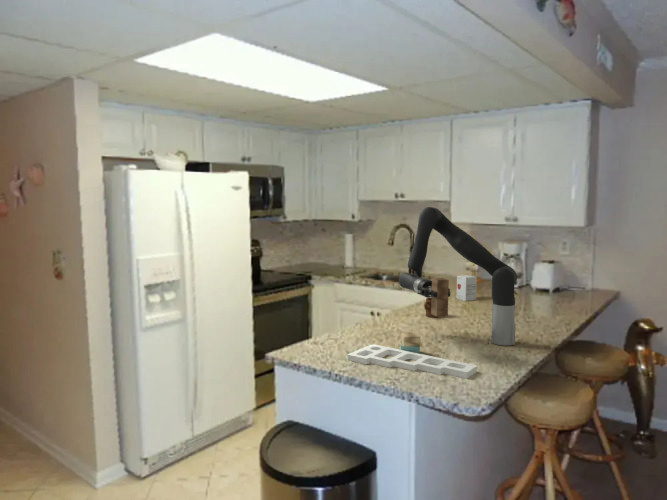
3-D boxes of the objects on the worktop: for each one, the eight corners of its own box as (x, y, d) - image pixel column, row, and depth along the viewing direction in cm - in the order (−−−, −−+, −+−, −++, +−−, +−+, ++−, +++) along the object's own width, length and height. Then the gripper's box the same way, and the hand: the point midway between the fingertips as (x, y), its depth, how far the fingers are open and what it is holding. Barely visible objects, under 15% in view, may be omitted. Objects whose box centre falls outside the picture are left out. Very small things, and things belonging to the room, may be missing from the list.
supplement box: (455, 298, 313) (456, 275, 311) (467, 297, 316) (467, 274, 315) (465, 301, 305) (465, 277, 303) (476, 300, 308) (477, 276, 307)
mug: (431, 320, 256) (431, 302, 255) (418, 317, 261) (418, 300, 260) (442, 316, 265) (442, 298, 264) (430, 314, 270) (430, 297, 269)
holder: (476, 372, 177) (477, 365, 177) (456, 387, 163) (456, 379, 163) (372, 350, 204) (372, 344, 204) (347, 361, 190) (347, 354, 190)
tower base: (419, 351, 201) (419, 342, 201) (418, 357, 195) (418, 347, 194) (402, 350, 203) (402, 341, 203) (400, 355, 196) (401, 346, 196)
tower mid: (417, 341, 202) (417, 332, 201) (420, 346, 195) (420, 336, 195) (401, 341, 202) (401, 332, 201) (404, 346, 195) (404, 336, 195)
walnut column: (442, 313, 204) (443, 277, 203) (447, 316, 199) (448, 279, 198) (431, 314, 203) (431, 278, 201) (436, 316, 198) (437, 280, 197)
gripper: (409, 279, 212) (426, 286, 196) (440, 278, 215) (459, 284, 199) (409, 296, 213) (426, 304, 196) (439, 295, 216) (458, 302, 200)
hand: (442, 294), depth 198 cm, fingers closed on walnut column, 5 cm apart
